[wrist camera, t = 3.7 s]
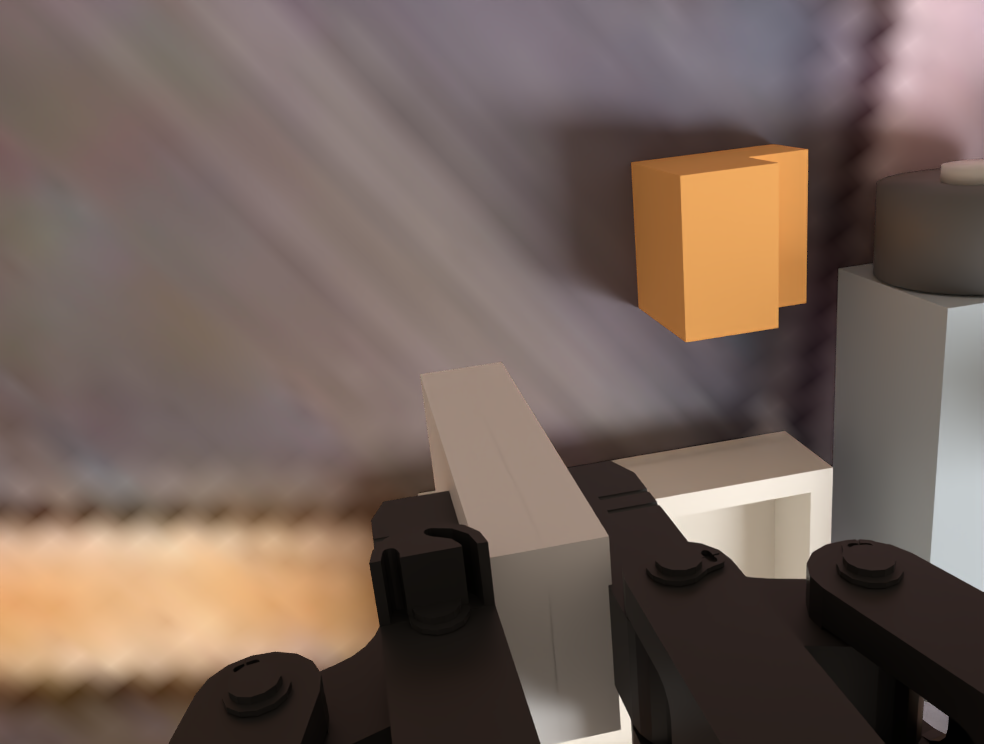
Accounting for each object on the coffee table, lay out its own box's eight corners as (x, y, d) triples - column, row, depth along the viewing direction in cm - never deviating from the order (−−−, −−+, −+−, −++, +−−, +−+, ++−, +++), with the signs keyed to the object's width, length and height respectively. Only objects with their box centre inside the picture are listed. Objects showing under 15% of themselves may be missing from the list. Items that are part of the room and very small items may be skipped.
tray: (461, 801, 36) (474, 870, 33) (417, 493, 32) (428, 539, 29) (782, 730, 38) (823, 789, 35) (784, 430, 34) (832, 467, 31)
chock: (637, 306, 31) (686, 342, 27) (629, 161, 30) (680, 175, 25) (770, 286, 32) (838, 318, 28) (770, 143, 30) (843, 154, 26)
